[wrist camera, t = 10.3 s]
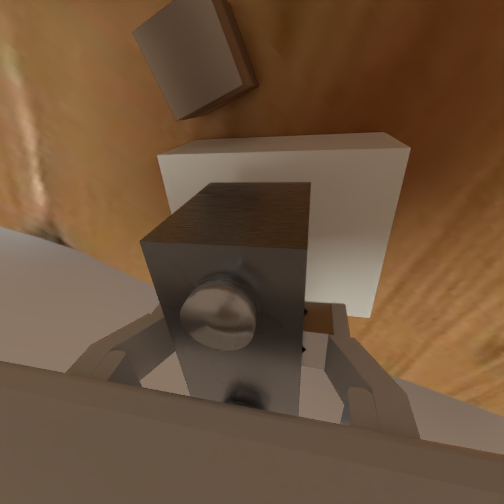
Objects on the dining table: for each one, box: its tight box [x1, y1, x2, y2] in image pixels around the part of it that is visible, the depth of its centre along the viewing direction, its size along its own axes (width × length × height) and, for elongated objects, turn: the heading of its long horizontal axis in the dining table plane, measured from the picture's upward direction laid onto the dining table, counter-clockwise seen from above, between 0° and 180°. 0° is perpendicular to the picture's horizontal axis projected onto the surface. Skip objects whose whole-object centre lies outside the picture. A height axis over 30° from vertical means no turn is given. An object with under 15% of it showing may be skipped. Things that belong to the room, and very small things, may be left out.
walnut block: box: [132, 0, 258, 121], centre depth 14 cm, size 4×4×4 cm
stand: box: [157, 132, 411, 318], centre depth 17 cm, size 12×10×5 cm
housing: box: [140, 182, 311, 416], centre depth 10 cm, size 9×4×6 cm, turn 4°
